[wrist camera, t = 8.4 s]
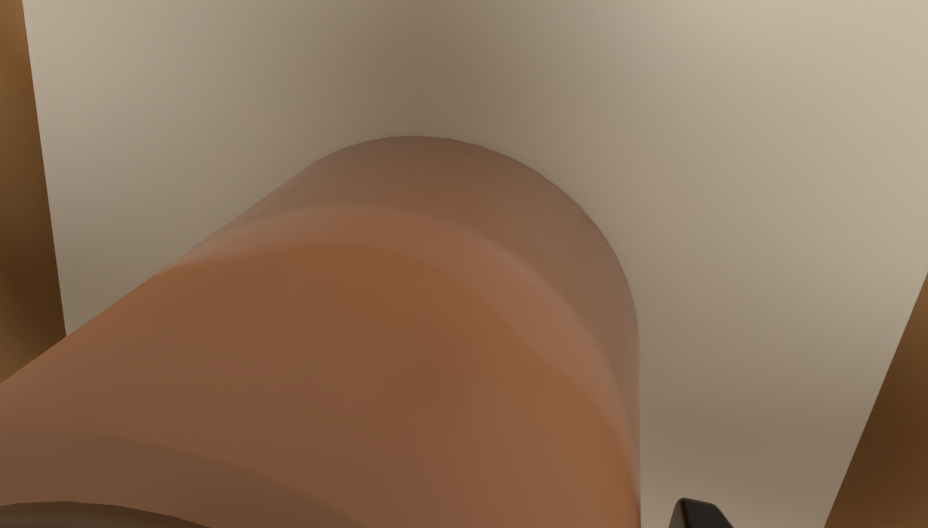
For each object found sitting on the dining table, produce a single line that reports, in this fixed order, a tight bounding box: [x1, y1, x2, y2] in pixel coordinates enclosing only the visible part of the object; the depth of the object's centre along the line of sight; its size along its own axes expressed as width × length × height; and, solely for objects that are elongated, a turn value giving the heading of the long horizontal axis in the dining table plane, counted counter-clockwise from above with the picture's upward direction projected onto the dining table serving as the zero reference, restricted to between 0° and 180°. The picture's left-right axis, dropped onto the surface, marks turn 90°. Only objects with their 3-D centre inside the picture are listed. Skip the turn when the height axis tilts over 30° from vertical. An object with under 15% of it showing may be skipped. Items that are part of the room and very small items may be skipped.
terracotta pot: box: [0, 136, 641, 528], centre depth 8 cm, size 6×6×7 cm
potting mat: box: [22, 0, 928, 528], centre depth 12 cm, size 13×13×1 cm
